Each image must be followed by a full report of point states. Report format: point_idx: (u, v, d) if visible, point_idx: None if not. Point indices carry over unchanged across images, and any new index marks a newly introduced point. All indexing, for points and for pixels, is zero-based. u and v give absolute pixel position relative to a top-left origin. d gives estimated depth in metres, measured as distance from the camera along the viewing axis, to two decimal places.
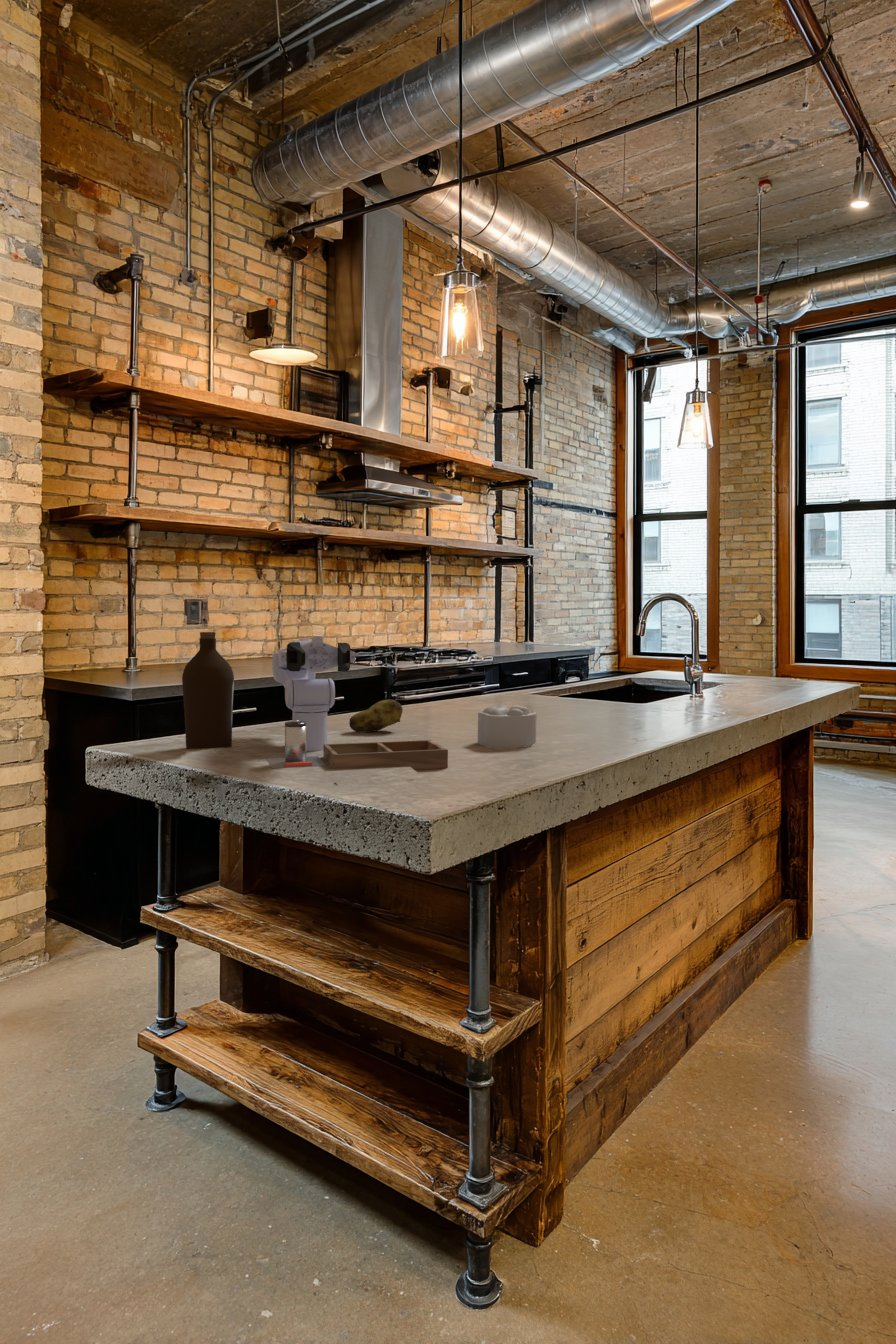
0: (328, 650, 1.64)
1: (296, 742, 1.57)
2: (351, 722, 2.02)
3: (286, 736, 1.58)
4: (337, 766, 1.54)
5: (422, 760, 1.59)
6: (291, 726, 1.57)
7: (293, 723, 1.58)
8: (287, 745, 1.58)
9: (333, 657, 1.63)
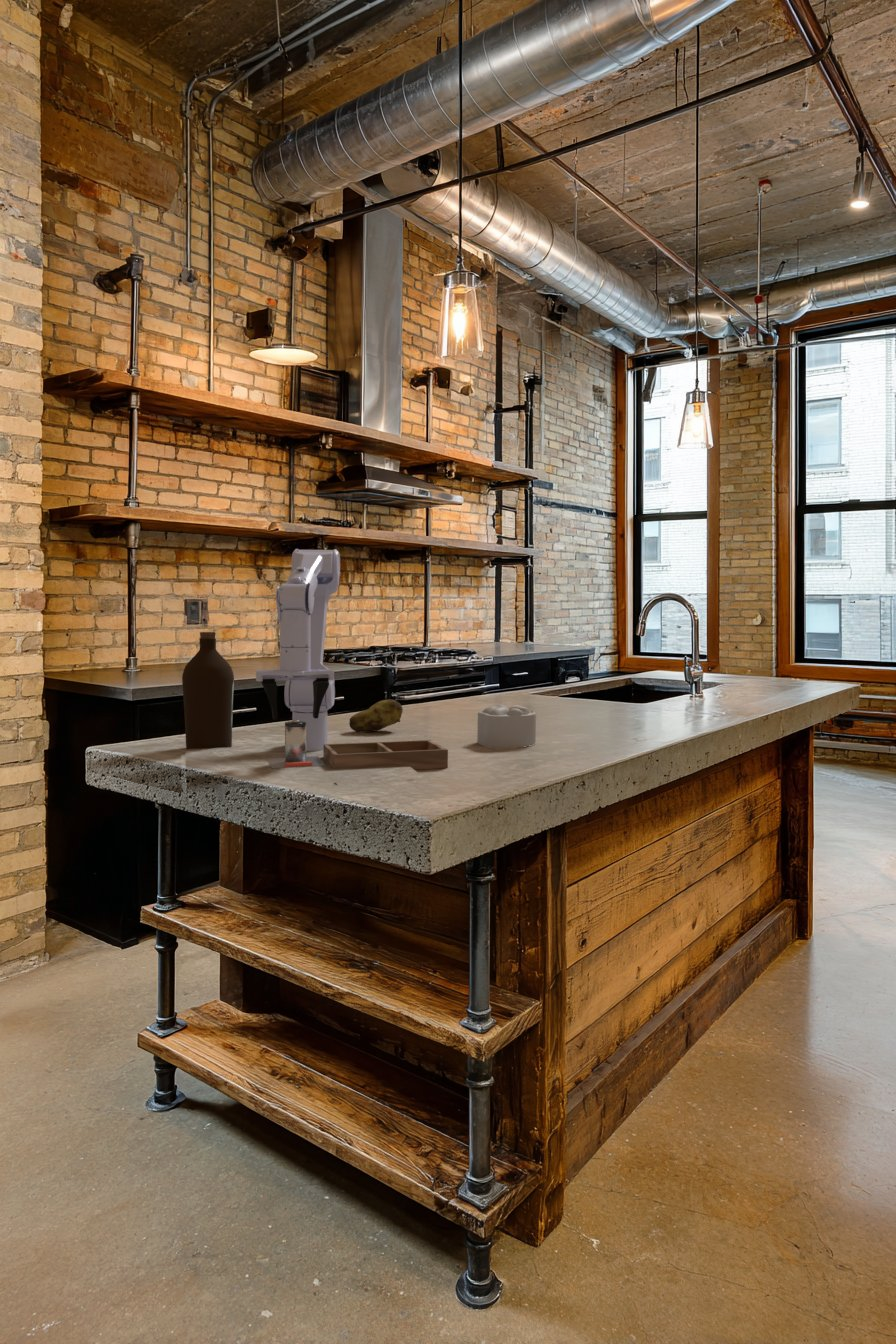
0: (307, 674, 1.58)
1: (296, 742, 1.57)
2: (351, 722, 2.02)
3: (286, 736, 1.58)
4: (337, 766, 1.54)
5: (422, 760, 1.59)
6: (291, 726, 1.57)
7: (293, 723, 1.58)
8: (287, 745, 1.58)
9: (310, 679, 1.59)
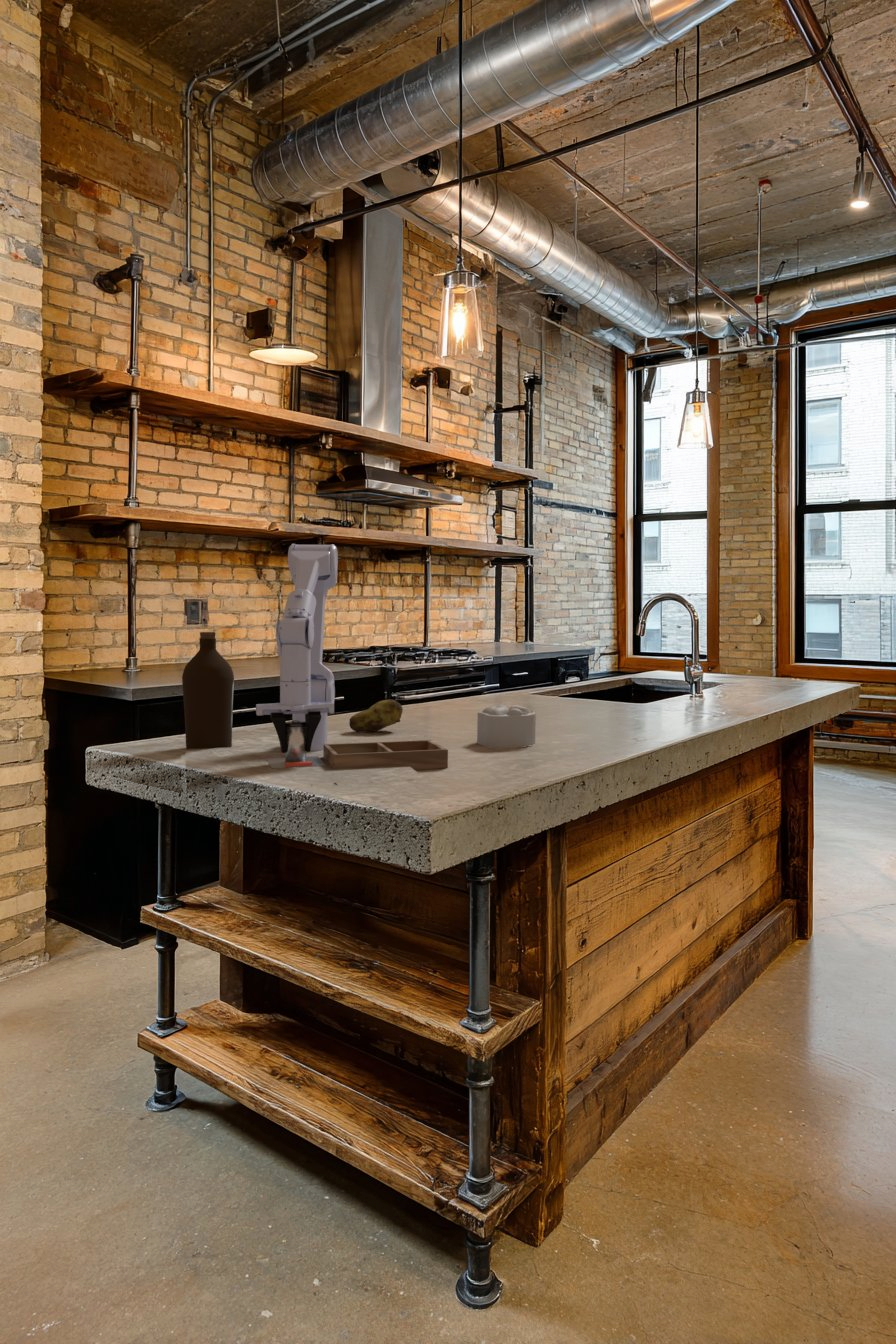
0: None
1: (296, 742, 1.57)
2: (351, 722, 2.02)
3: (286, 736, 1.58)
4: (337, 766, 1.54)
5: (422, 760, 1.59)
6: (291, 726, 1.57)
7: (293, 723, 1.58)
8: (287, 745, 1.58)
9: None
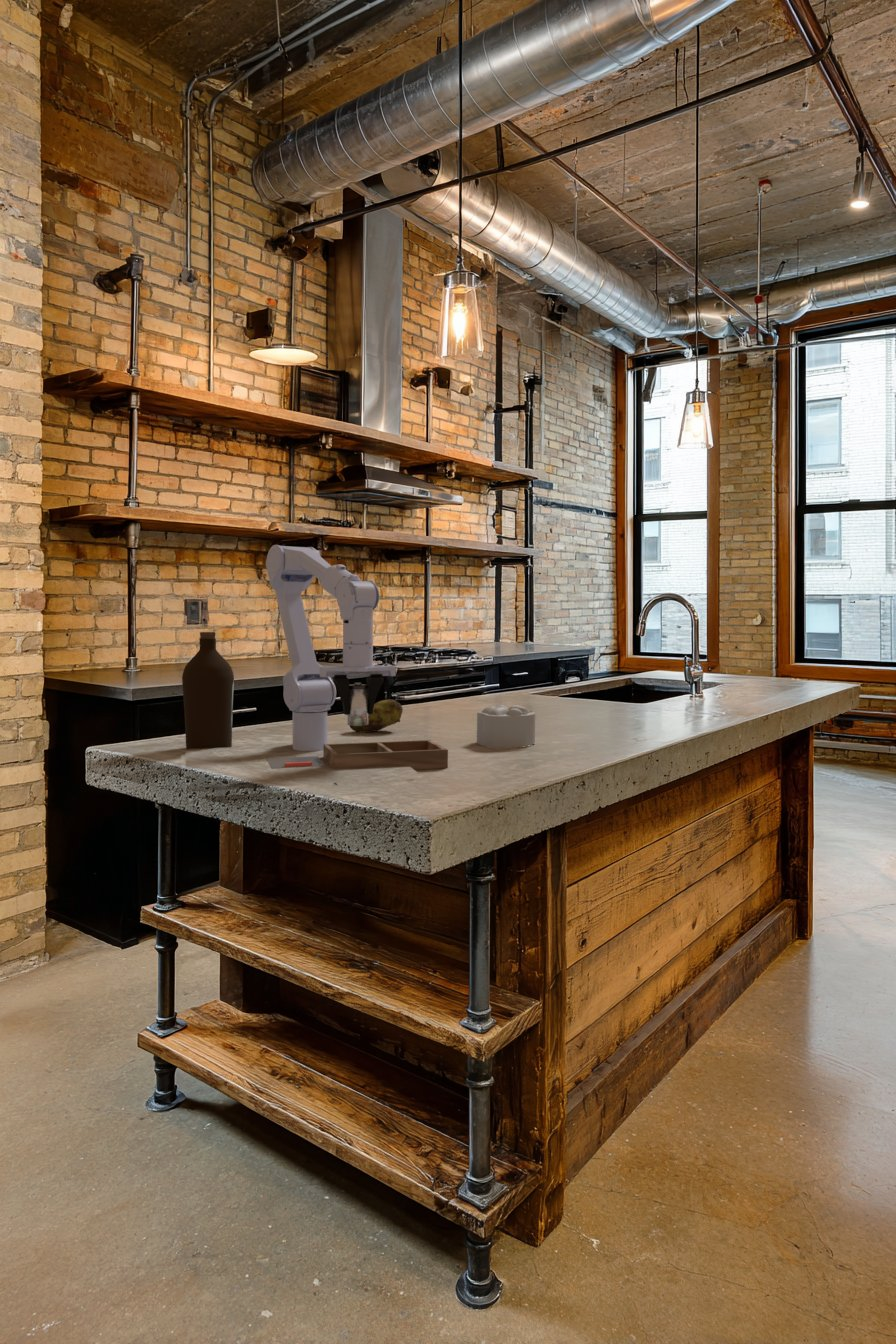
0: (370, 670, 1.60)
1: (359, 704, 1.59)
2: None
3: (349, 698, 1.60)
4: (337, 766, 1.54)
5: (422, 760, 1.59)
6: (354, 688, 1.59)
7: (356, 685, 1.60)
8: (350, 707, 1.60)
9: None
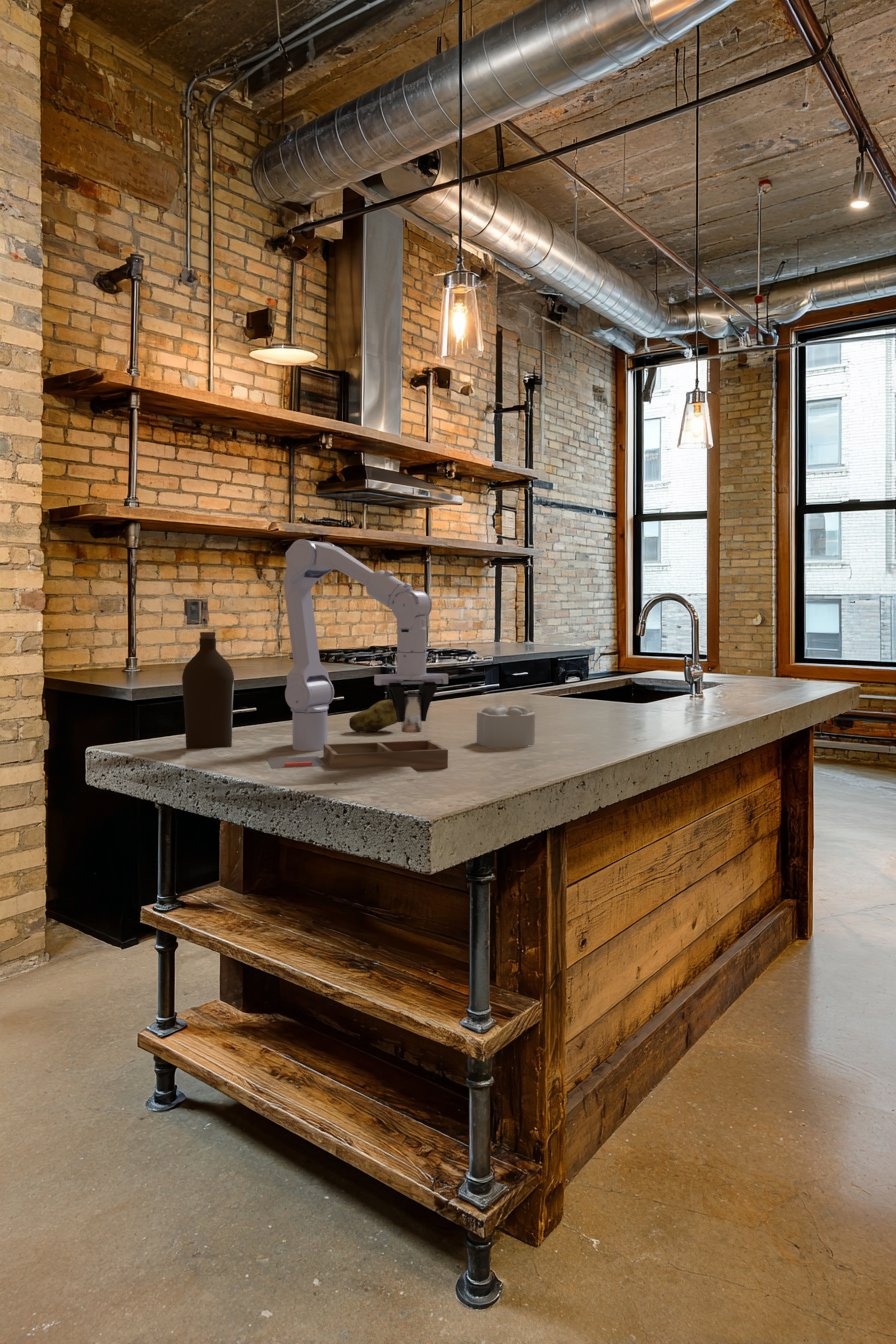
0: (423, 678, 1.63)
1: (413, 712, 1.62)
2: (351, 722, 2.02)
3: (403, 706, 1.62)
4: (337, 766, 1.54)
5: (422, 760, 1.59)
6: (409, 696, 1.61)
7: (410, 693, 1.62)
8: (404, 714, 1.62)
9: None
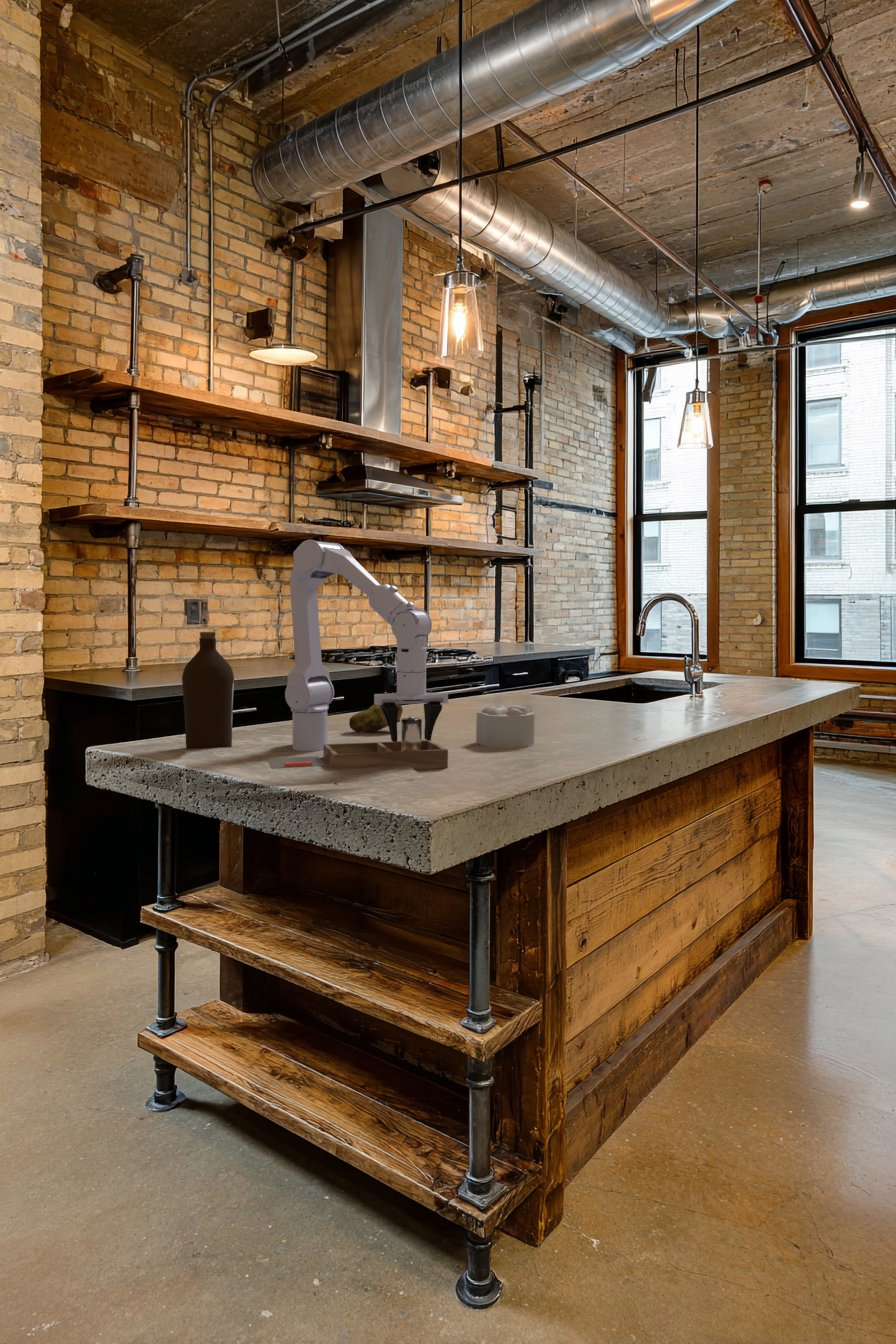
0: None
1: (413, 738, 1.62)
2: (351, 722, 2.02)
3: (403, 733, 1.63)
4: (337, 766, 1.54)
5: (422, 760, 1.59)
6: (408, 723, 1.62)
7: (410, 720, 1.62)
8: (404, 741, 1.63)
9: None
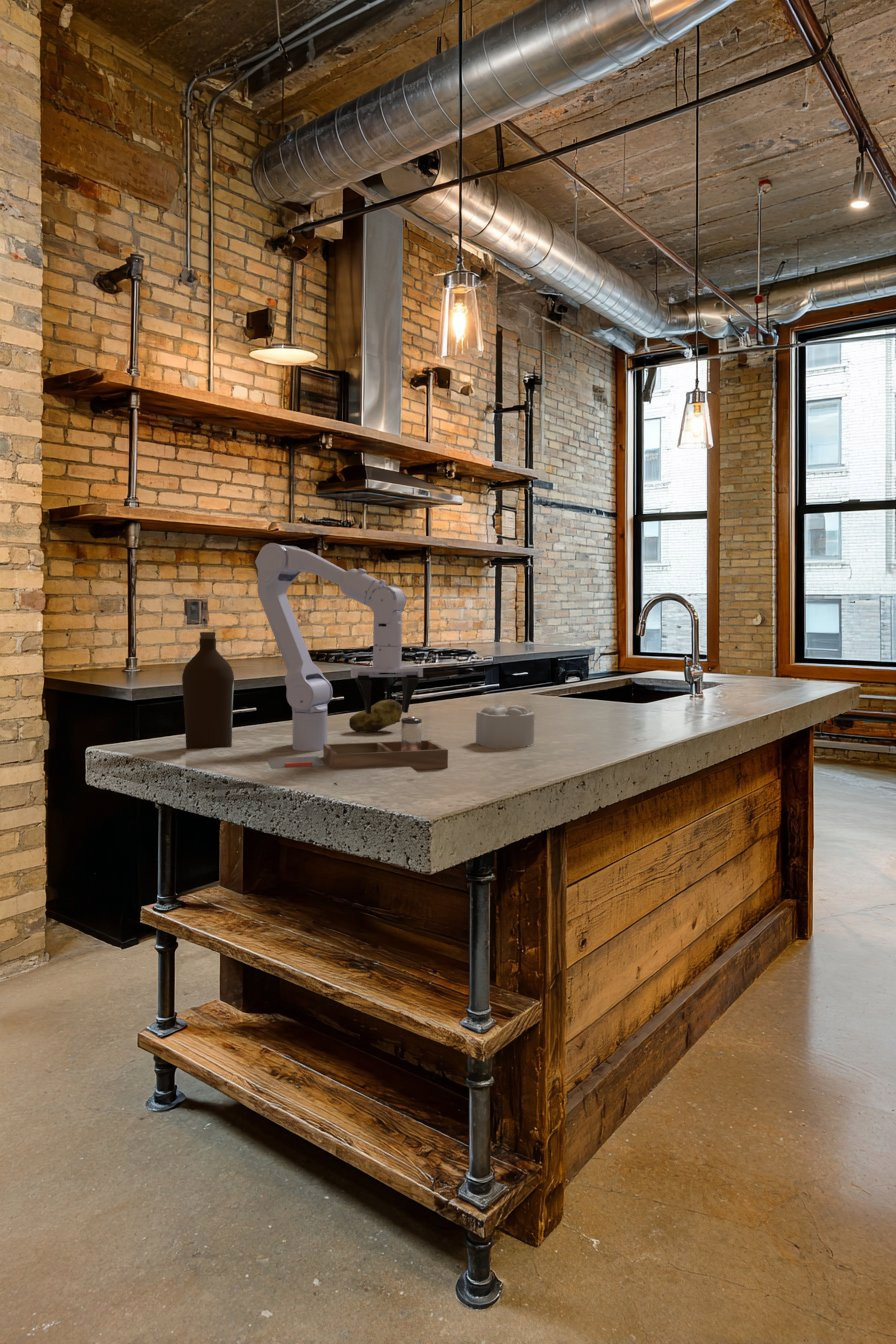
0: (398, 671, 1.68)
1: (413, 738, 1.62)
2: (351, 722, 2.02)
3: (403, 733, 1.62)
4: (337, 766, 1.54)
5: (422, 760, 1.59)
6: (408, 723, 1.62)
7: (410, 720, 1.62)
8: (404, 741, 1.62)
9: (401, 676, 1.70)
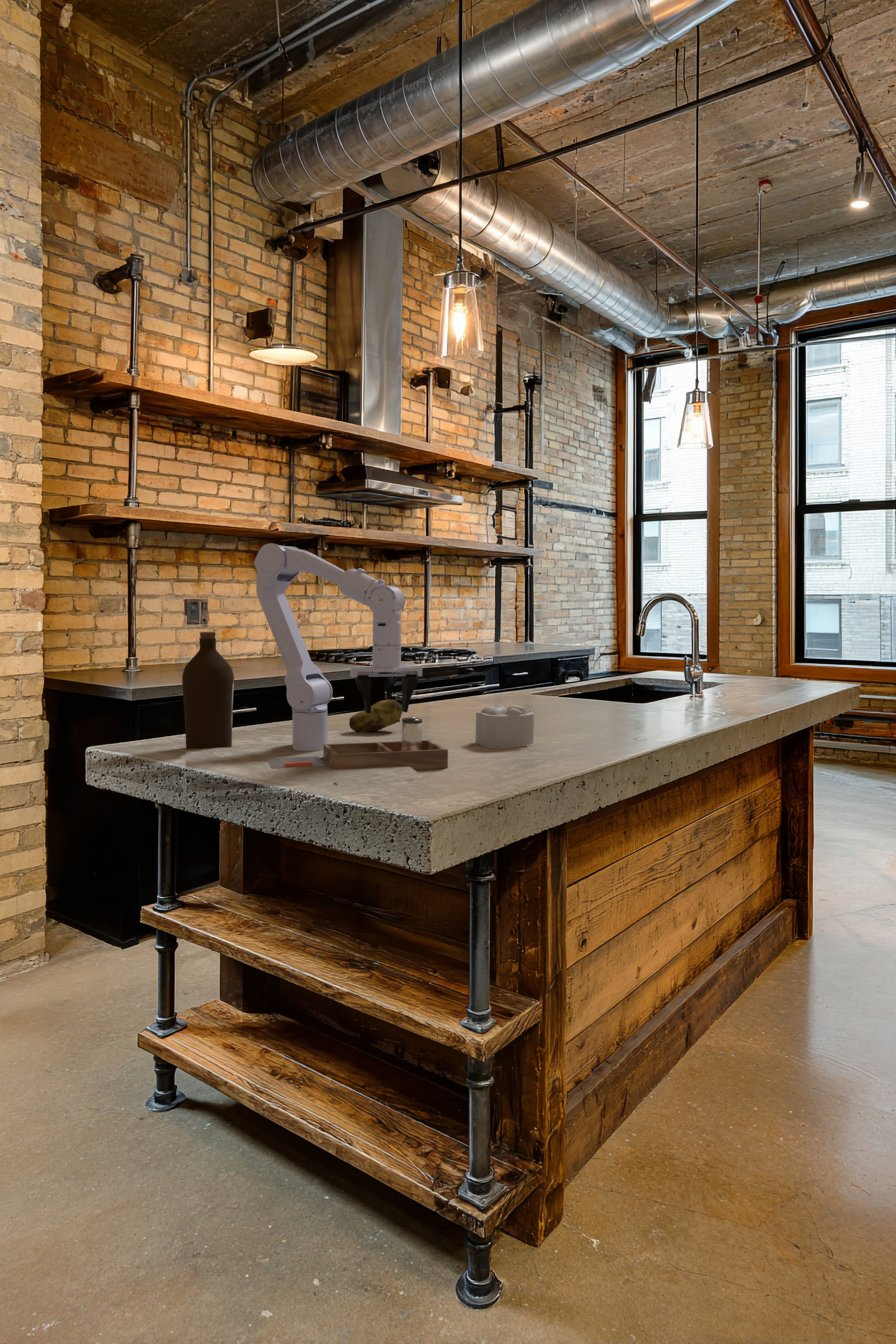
0: None
1: (413, 738, 1.62)
2: (351, 722, 2.02)
3: (404, 732, 1.62)
4: (337, 766, 1.54)
5: (422, 760, 1.59)
6: (409, 722, 1.62)
7: (411, 720, 1.62)
8: (404, 741, 1.62)
9: None
